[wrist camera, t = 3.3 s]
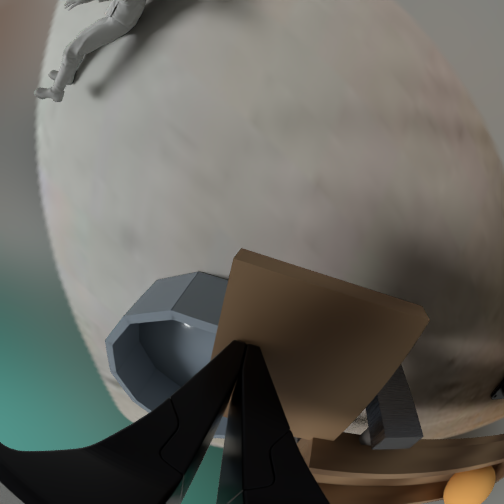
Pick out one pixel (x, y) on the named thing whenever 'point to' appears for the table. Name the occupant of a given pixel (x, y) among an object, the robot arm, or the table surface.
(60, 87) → the soldier figure
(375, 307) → the lever
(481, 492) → the ball
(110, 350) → the cup
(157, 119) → the table surface
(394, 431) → the lever stand
